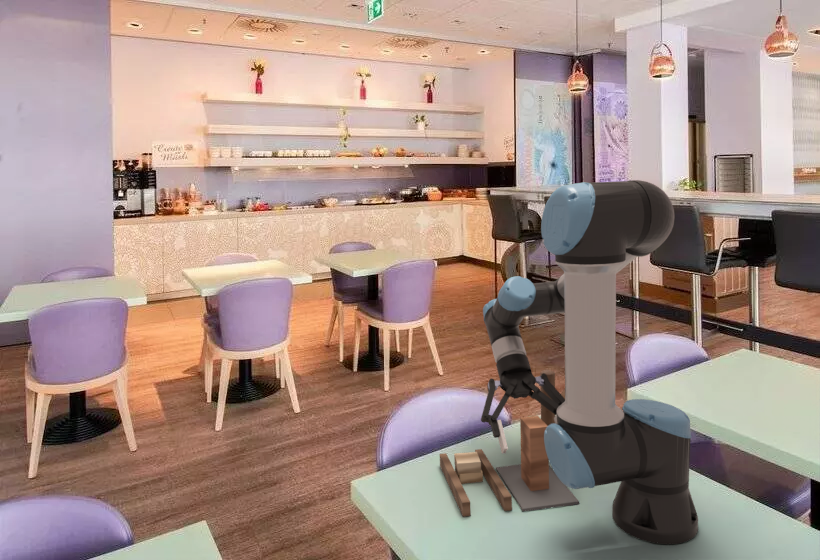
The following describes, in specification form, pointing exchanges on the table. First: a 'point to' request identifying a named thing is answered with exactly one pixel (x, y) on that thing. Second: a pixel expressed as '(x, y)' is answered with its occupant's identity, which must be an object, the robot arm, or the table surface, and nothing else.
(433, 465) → the table surface
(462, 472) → the offcut upper
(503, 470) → the mat
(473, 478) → the offcut lower
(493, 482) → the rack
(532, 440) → the tall board
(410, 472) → the table surface
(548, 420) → the brown wooden forked piece
